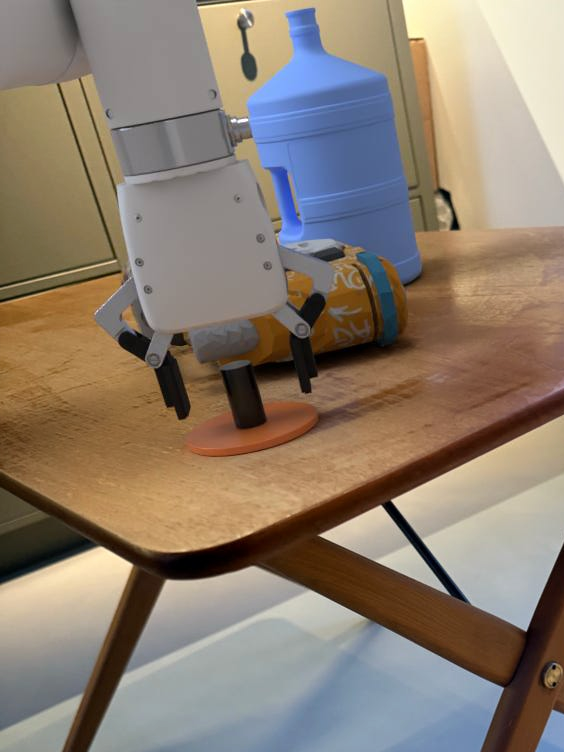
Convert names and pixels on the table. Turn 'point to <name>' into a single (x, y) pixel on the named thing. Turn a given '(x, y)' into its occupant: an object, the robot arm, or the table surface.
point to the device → (334, 325)
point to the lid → (249, 418)
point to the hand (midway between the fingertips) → (246, 401)
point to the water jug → (334, 151)
